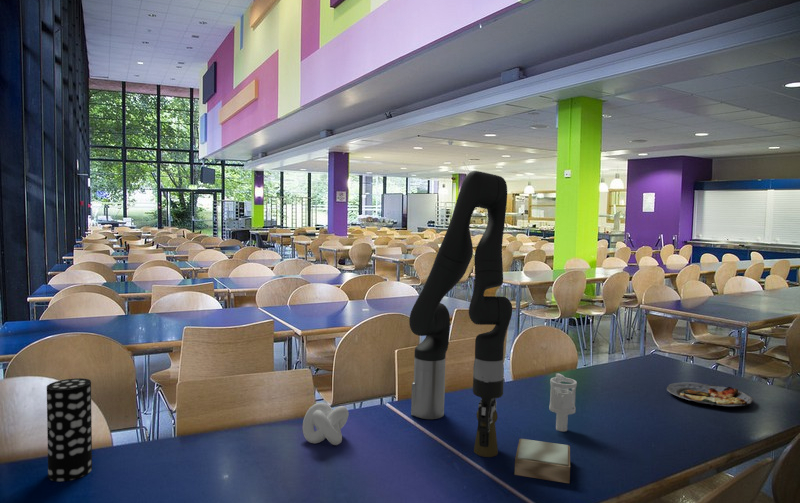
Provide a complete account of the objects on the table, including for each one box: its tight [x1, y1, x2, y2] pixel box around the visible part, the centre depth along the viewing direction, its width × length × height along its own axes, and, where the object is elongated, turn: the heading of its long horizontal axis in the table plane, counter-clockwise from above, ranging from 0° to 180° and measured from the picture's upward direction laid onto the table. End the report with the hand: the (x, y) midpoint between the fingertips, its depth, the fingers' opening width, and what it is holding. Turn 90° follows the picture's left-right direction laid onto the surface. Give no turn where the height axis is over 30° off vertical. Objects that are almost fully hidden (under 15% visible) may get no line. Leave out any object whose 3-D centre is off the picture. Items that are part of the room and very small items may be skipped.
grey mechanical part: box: [548, 372, 578, 432], centre depth 149 cm, size 7×7×15 cm
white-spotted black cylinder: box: [46, 377, 93, 482], centre depth 118 cm, size 8×8×20 cm
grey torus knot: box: [302, 402, 350, 446], centre depth 138 cm, size 11×12×9 cm
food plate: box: [666, 381, 754, 408], centre depth 179 cm, size 25×23×4 cm
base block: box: [514, 438, 571, 484], centre depth 125 cm, size 12×12×4 cm
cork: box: [473, 409, 499, 458], centre depth 133 cm, size 6×6×11 cm
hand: (486, 439), depth 133 cm, fingers open, 8 cm apart
